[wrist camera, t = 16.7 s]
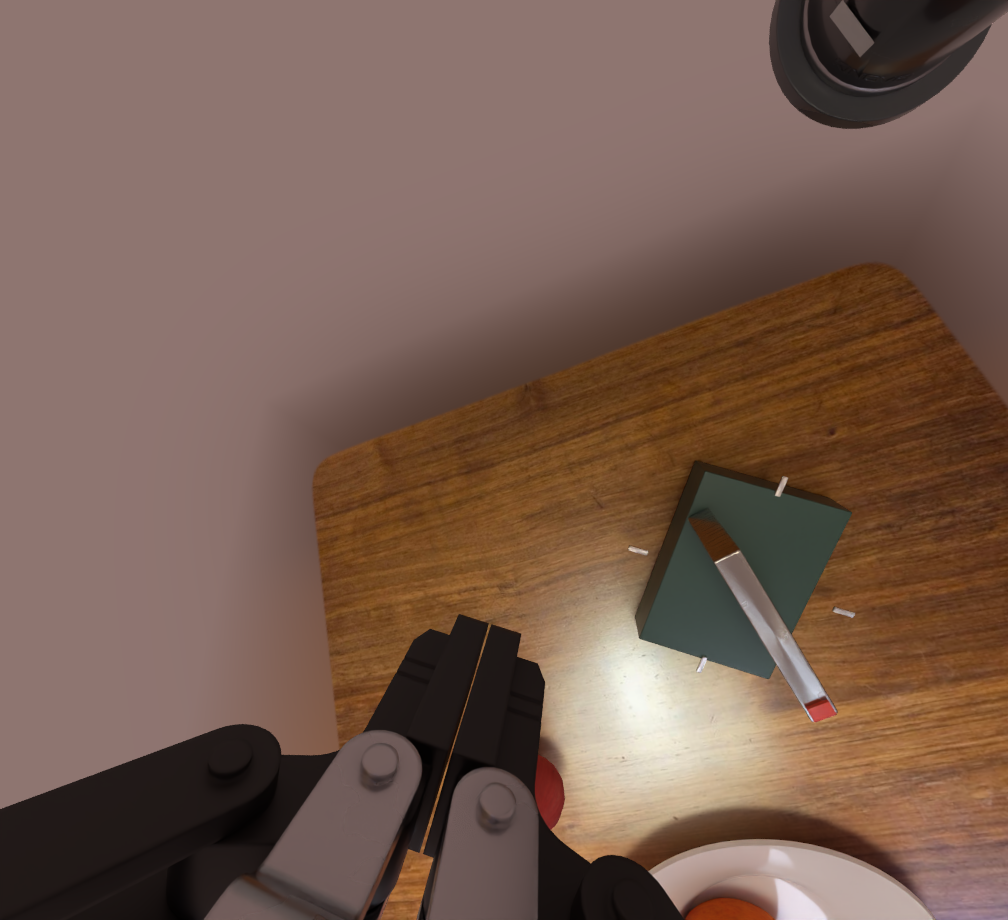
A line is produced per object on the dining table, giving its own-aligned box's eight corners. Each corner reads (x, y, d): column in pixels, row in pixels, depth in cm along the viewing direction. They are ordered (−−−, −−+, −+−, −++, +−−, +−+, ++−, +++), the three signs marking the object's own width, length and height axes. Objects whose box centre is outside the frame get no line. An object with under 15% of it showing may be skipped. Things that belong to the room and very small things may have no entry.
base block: (659, 434, 36) (666, 443, 33) (880, 496, 34) (909, 512, 31) (594, 616, 40) (595, 639, 37) (787, 677, 39) (805, 706, 36)
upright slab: (686, 517, 34) (714, 564, 27) (708, 506, 33) (741, 551, 26) (767, 649, 35) (814, 726, 28) (789, 641, 35) (841, 716, 28)
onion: (522, 789, 46) (511, 879, 38) (491, 742, 45) (473, 826, 37) (576, 770, 44) (575, 861, 37) (545, 722, 44) (538, 804, 36)
